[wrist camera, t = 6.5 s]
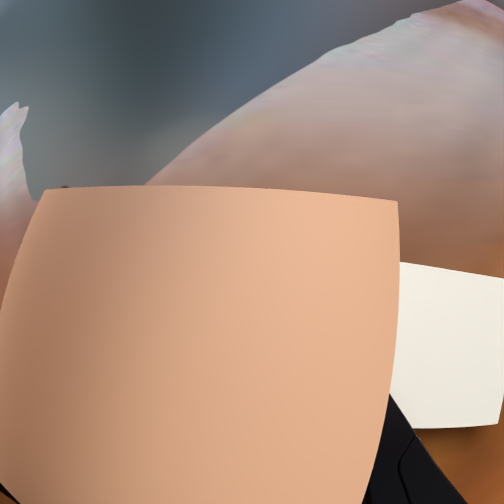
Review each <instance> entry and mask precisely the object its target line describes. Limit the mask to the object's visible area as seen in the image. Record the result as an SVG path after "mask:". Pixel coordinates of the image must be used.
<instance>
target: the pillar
mask: <svg viewBox="0 0 504 504" xmlns="http://www.w3.org/2000/svg"><path fill="white" fill-rule="evenodd" d="M399 281H400V246H399V219H398V204H397V201H391V200H383V199H375V198H366V197H357V196H348V195H338V194H328V193H317V192H305V191H292V190H277V189H261V188H241V187H215V186H106V187H82V188H63V189H48V190H45V191H44V193H43V195H42V197H41V199H40V201H39V204H38V206H37V208H36V210H35V212H34V214H33V217H32V219H31V221H30V224H29V226H28V228H27V231H26V233H25V236H24V238H23V241H22V243H21V246H20V249H19V251H18V254H17V257H16V260H15V263H14V266H13V269H12V272H11V275H10V278H9V281H8V285H7V288H6V291H5V295H4V299H3V302H2V306H1V310H0V483H1V484H2V485H3V486H4V487H5V488H6V489H7V490H8V491H9V493H10V494H11V495H12V496H13V497H14V498H15V499H16V500H17V501H18V502H19V503H20V504H362V501H363V498H364V495H365V492H366V489H367V485H368V482H369V479H370V476H371V472H372V469H373V465H374V461H375V458H376V454H377V450H378V446H379V442H380V437H381V433H382V429H383V424H384V419H385V414H386V409H387V403H388V398H389V392H390V385H391V379H392V372H393V364H394V356H395V346H396V336H397V324H398V308H399Z"/></svg>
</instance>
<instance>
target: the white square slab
mask: <svg viewBox="0 0 504 504" xmlns="http://www.w3.org/2000/svg"><path fill="white" fill-rule="evenodd" d="M389 393H390V394H391V396H392V397H393V399H394V400H395V402H396V403H397V405H398V406H399V408H400V409H401V411H402V413H403V414H404V416H405V417H406V419H407V420H408V422H409V423H410V425H411V426H412V428H454V427H471V426H482V425H492V424H498V420H499V416H500V411H501V406H502V401H503V395H504V279H502V278H496V277H490V276H484V275H478V274H472V273H466V272H460V271H454V270H448V269H442V268H435V267H429V266H423V265H416V264H410V263H404V262H400V281H399V308H398V324H397V336H396V346H395V356H394V364H393V372H392V379H391V385H390V392H389Z"/></svg>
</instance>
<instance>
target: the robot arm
mask: <svg viewBox="0 0 504 504" xmlns="http://www.w3.org/2000/svg"><path fill="white" fill-rule="evenodd" d="M415 435H416V433H415V431H414V430H413V428H412V426H411V425H410V423H409V422H408V420H407V419H406V417H405V416H404V414H403V413H402V411H401V409H400V408H399V406H398V405H397V403H396V402H395V400H394V399H393V397H392V396H391V394H390V393H389V398H388V403H387V409H386V414H385V419H384V424H383V429H382V433H381V437H380V442H379V446H378V450H377V454H376V458H375V461H374V465H373V469H372V472H371V476H370V479H369V482H368V485H367V489H366V492H365V495H364V498H363V501H362V504H468V503H467V502H466V501H465V500H464V498H463V497H462V496H461V495H460V494H459V492H458V491H457V490H456V489H455V487H454V486H453V485H452V484H451V482H450V481H449V480H448V479H447V477H446V476H445V475H444V474H443V472H442V471H441V470H440V468H439V467H438V466H437V464H436V463H435V462H434V460H433V459H432V457H431V456H430V454H429V453H428V451H427V450H426V448H425V447H424V445H423V444H422V442H421V440H420V439H419V437H418V436H415ZM0 504H20V503H19V502H18V501H17V500H16V499H15V498H14V497H13V496H12V495H11V494H10V493H9V491H8V490H7V489H6V488H5V487H4V486H3V485H2V484H1V483H0Z"/></svg>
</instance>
